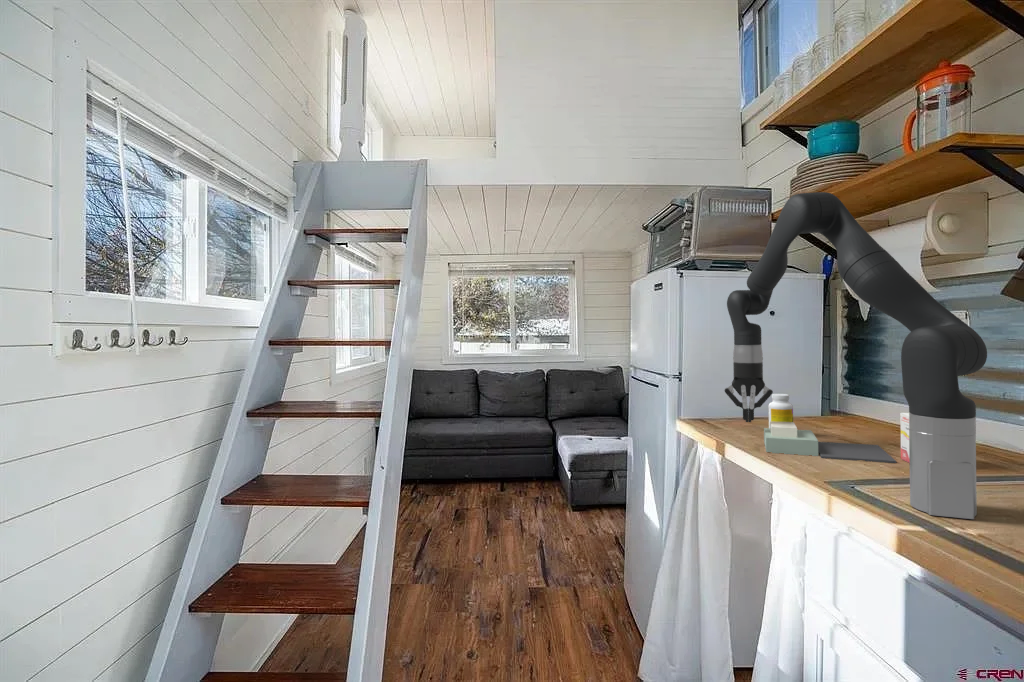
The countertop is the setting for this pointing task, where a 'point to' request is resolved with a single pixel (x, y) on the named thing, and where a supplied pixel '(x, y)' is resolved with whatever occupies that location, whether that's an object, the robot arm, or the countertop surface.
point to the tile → (783, 429)
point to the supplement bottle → (780, 409)
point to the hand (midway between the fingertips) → (748, 421)
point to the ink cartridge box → (904, 436)
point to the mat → (853, 452)
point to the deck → (792, 443)
